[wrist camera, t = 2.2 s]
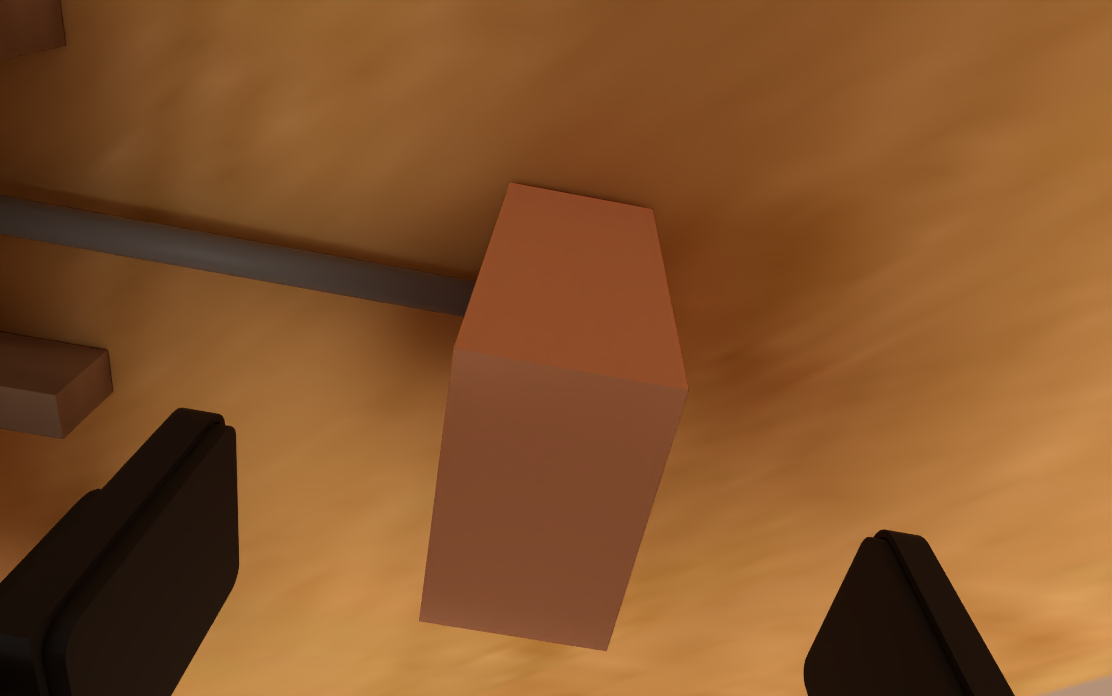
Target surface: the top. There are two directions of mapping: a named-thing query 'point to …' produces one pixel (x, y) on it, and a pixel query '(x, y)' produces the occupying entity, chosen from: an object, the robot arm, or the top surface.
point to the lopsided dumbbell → (501, 395)
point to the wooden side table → (31, 363)
